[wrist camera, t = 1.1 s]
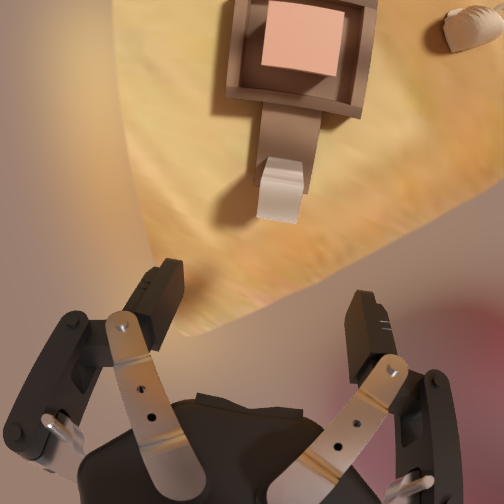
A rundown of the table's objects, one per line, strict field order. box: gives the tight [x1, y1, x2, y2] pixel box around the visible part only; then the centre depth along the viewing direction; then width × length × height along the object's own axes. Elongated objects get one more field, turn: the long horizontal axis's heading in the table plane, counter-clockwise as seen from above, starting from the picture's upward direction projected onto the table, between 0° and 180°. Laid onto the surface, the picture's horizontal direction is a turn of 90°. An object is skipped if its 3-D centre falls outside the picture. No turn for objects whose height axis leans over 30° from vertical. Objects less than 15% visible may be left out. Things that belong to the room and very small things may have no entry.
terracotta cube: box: [261, 1, 345, 77], centre depth 17 cm, size 5×5×5 cm
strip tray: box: [225, 0, 378, 224], centre depth 19 cm, size 19×11×7 cm, turn 174°
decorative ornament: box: [443, 4, 504, 53], centre depth 12 cm, size 4×8×5 cm, turn 122°
